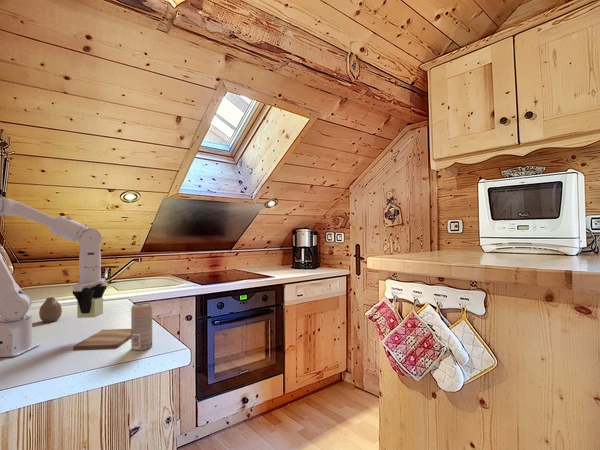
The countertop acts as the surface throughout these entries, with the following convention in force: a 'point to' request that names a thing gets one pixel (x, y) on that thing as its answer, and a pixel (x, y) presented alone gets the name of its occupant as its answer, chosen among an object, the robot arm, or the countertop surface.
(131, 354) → the countertop surface
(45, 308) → the vase
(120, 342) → the walnut board
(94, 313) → the sage block
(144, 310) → the energy drink
